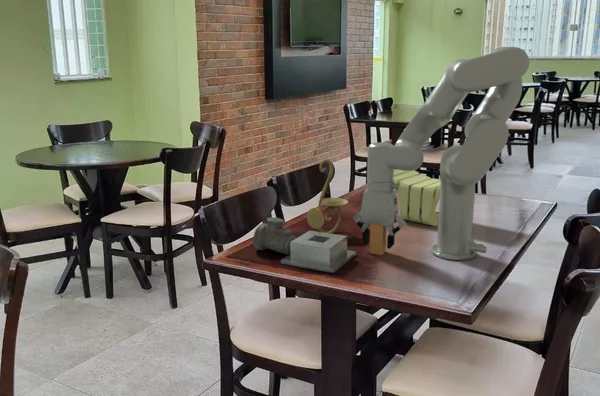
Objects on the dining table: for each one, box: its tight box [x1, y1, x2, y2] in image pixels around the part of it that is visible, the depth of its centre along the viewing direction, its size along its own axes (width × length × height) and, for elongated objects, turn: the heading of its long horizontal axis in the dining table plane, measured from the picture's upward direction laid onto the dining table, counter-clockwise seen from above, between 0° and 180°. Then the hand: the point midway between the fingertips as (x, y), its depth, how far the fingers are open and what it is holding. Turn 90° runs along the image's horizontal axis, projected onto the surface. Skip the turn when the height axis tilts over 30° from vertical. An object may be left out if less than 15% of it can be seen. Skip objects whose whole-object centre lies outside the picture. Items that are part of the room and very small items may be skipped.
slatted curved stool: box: [394, 169, 441, 227], centre depth 202 cm, size 30×16×18 cm, turn 49°
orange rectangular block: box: [369, 224, 388, 256], centre depth 170 cm, size 4×4×10 cm
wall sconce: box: [306, 158, 349, 234], centre depth 184 cm, size 14×10×25 cm
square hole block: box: [280, 230, 357, 274], centre depth 165 cm, size 16×16×6 cm
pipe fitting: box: [252, 216, 297, 256], centre depth 170 cm, size 12×8×10 cm, turn 60°
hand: (378, 245), depth 170 cm, fingers open, 6 cm apart
